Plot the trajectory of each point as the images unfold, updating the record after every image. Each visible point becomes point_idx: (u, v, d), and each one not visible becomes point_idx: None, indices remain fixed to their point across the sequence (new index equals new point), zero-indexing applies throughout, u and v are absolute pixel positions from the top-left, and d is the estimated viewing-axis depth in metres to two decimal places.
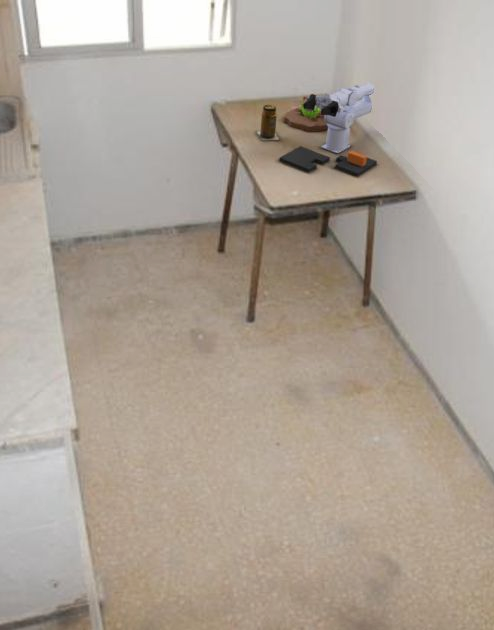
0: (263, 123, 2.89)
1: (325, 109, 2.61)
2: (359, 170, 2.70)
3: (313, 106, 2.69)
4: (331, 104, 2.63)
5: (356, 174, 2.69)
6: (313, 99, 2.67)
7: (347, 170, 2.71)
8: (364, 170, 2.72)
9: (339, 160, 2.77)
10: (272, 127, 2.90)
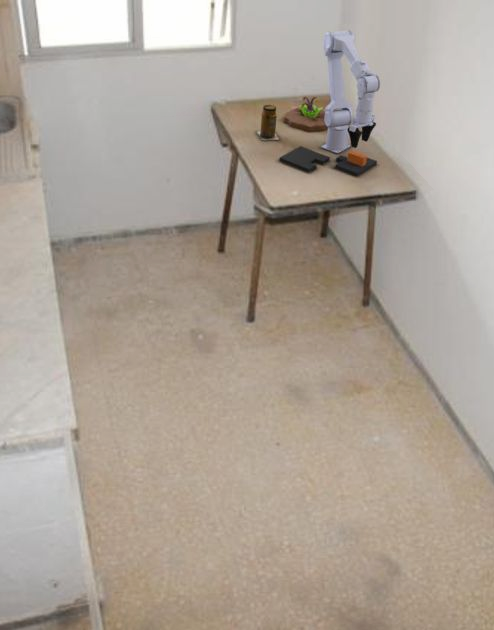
0: (263, 123, 2.89)
1: None
2: (359, 170, 2.70)
3: None
4: (372, 129, 2.69)
5: (356, 174, 2.69)
6: None
7: (347, 170, 2.71)
8: (364, 170, 2.72)
9: (339, 160, 2.77)
10: (272, 127, 2.90)
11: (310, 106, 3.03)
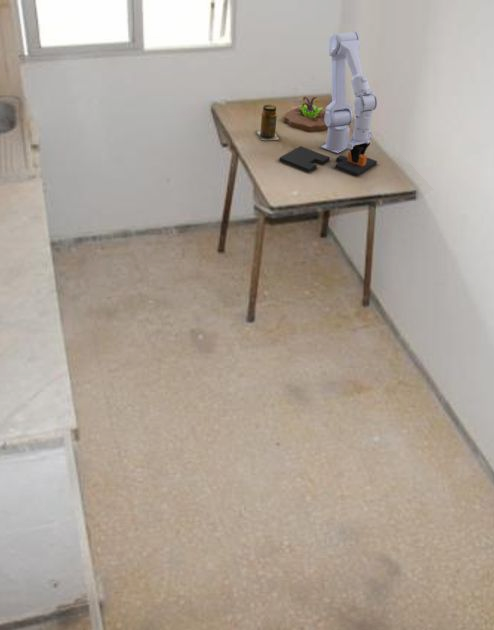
0: (263, 123, 2.89)
1: None
2: (359, 170, 2.70)
3: None
4: (366, 148, 2.72)
5: (356, 174, 2.69)
6: None
7: (347, 170, 2.71)
8: (364, 170, 2.72)
9: (339, 160, 2.77)
10: (272, 127, 2.90)
11: (310, 106, 3.03)
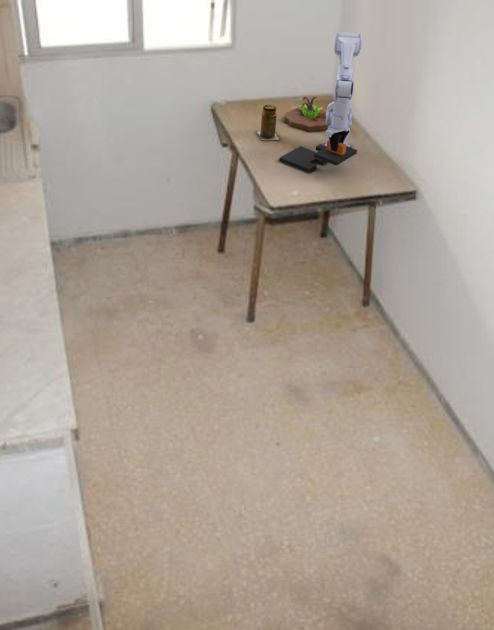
0: (263, 123, 2.89)
1: None
2: (338, 159, 2.62)
3: None
4: (345, 136, 2.64)
5: (335, 163, 2.61)
6: None
7: (326, 159, 2.63)
8: (344, 159, 2.64)
9: (318, 149, 2.70)
10: (272, 127, 2.90)
11: (310, 106, 3.03)
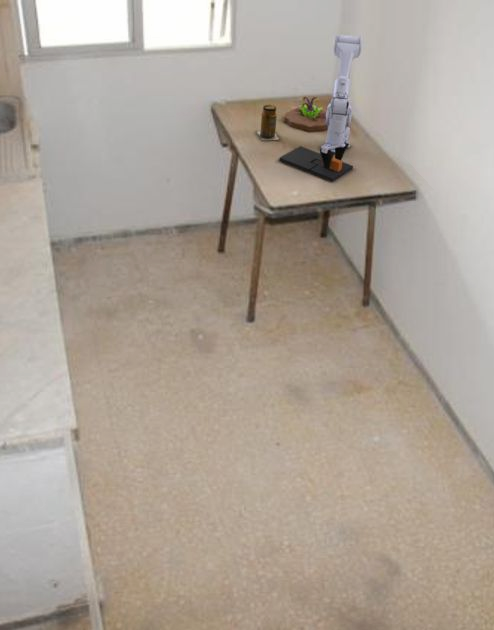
0: (263, 123, 2.89)
1: None
2: (334, 175, 2.66)
3: None
4: (344, 150, 2.69)
5: (331, 179, 2.65)
6: None
7: (322, 175, 2.66)
8: (339, 175, 2.68)
9: None
10: (272, 127, 2.90)
11: (310, 106, 3.03)
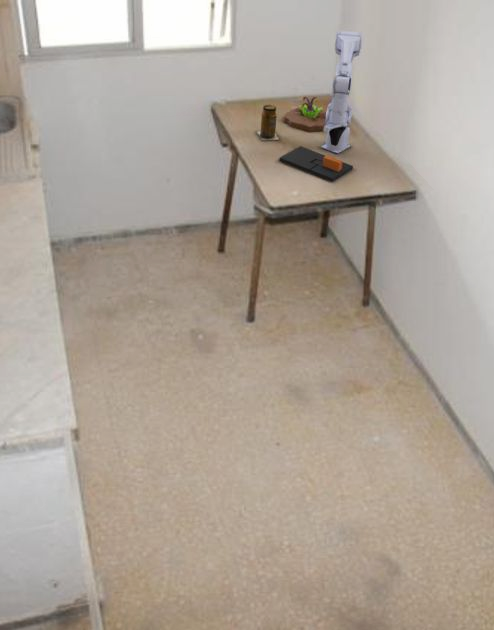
0: (263, 123, 2.89)
1: None
2: (334, 175, 2.66)
3: None
4: (341, 133, 2.65)
5: (331, 179, 2.65)
6: None
7: (322, 175, 2.66)
8: (339, 175, 2.68)
9: None
10: (272, 127, 2.90)
11: (310, 106, 3.03)
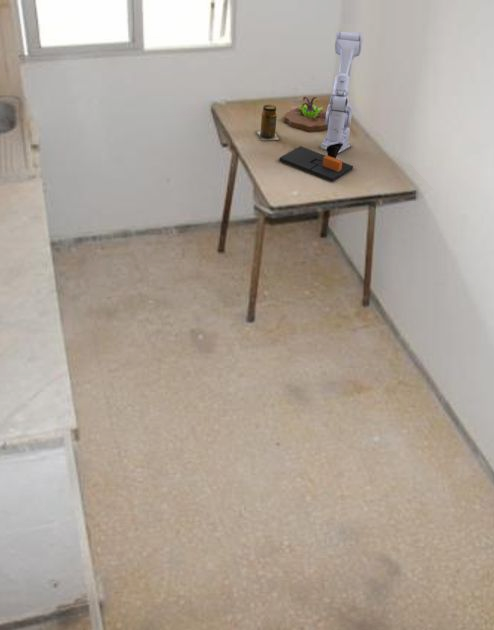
0: (263, 123, 2.89)
1: None
2: (334, 175, 2.66)
3: None
4: (339, 149, 2.72)
5: (331, 179, 2.65)
6: None
7: (322, 175, 2.66)
8: (339, 175, 2.68)
9: None
10: (272, 127, 2.90)
11: (310, 106, 3.03)
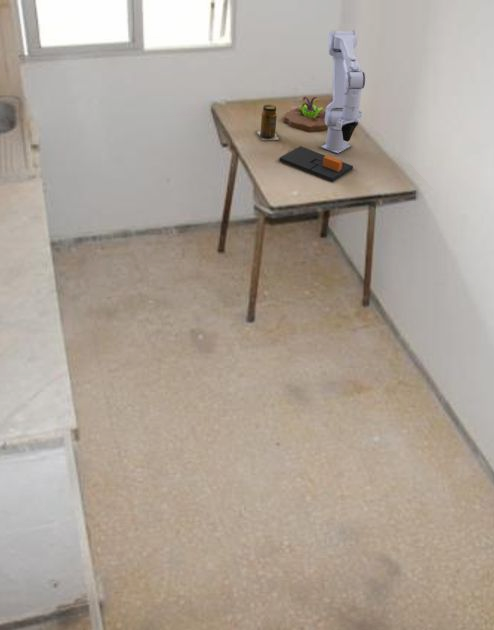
0: (263, 123, 2.89)
1: None
2: (334, 175, 2.66)
3: None
4: (354, 128, 2.66)
5: (331, 179, 2.65)
6: None
7: (322, 175, 2.66)
8: (339, 175, 2.68)
9: None
10: (272, 127, 2.90)
11: (310, 106, 3.03)
